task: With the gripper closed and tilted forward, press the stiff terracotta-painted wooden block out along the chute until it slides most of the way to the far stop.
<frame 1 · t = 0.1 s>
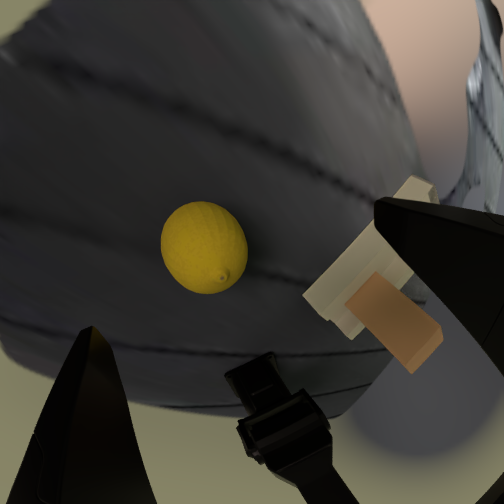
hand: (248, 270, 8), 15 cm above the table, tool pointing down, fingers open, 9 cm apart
jammed block: (388, 317, 29), point 7 cm above the table, slide at 0.0 cm
lemon: (189, 220, 23), on the table
chute: (374, 254, 34), on the table
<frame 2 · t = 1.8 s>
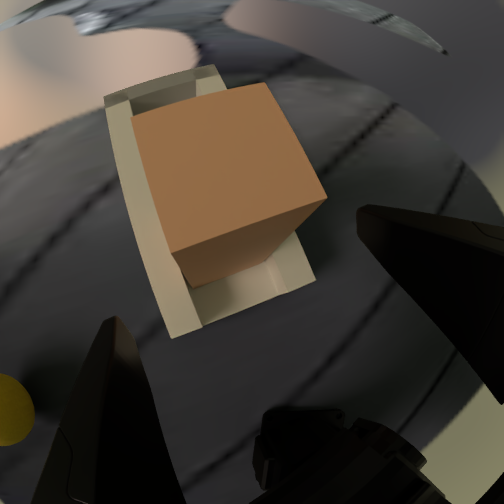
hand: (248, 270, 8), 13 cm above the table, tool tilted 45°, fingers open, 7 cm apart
jammed block: (217, 213, 15), point 7 cm above the table, slide at 0.0 cm
lemon: (26, 398, 17), on the table
chute: (194, 192, 22), on the table
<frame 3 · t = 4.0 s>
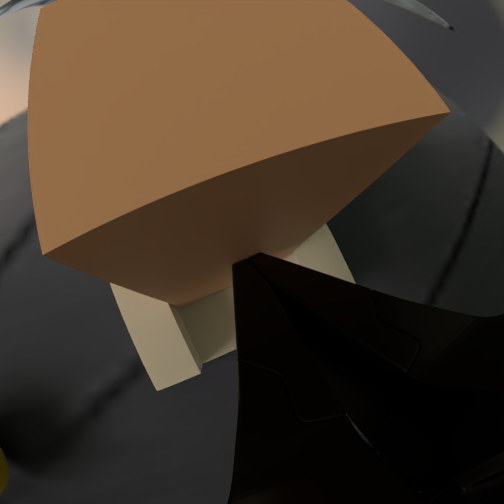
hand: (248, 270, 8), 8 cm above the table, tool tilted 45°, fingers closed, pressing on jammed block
jammed block: (207, 188, 9), point 7 cm above the table, slide at 0.4 cm, touching gripper
chute: (181, 180, 16), on the table
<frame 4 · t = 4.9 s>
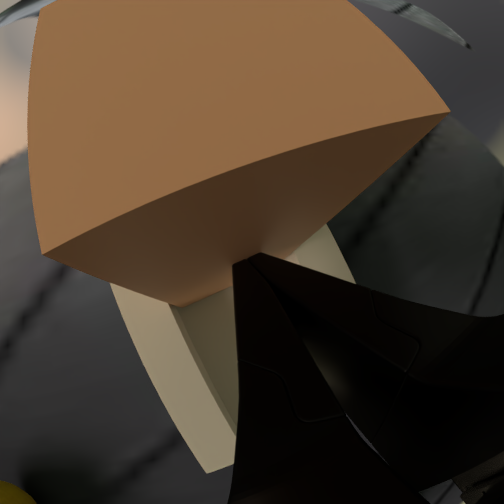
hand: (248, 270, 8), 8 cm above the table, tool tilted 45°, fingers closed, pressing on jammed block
jammed block: (207, 188, 9), point 7 cm above the table, slide at 4.7 cm, touching gripper
lemon: (31, 496, 10), on the table
chute: (211, 249, 16), on the table
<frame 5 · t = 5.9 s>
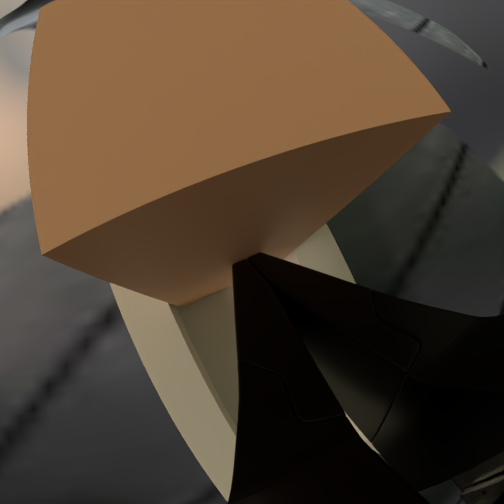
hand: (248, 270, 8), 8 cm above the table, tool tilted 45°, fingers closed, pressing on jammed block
jammed block: (207, 188, 9), point 7 cm above the table, slide at 9.0 cm, touching gripper
chute: (245, 323, 15), on the table
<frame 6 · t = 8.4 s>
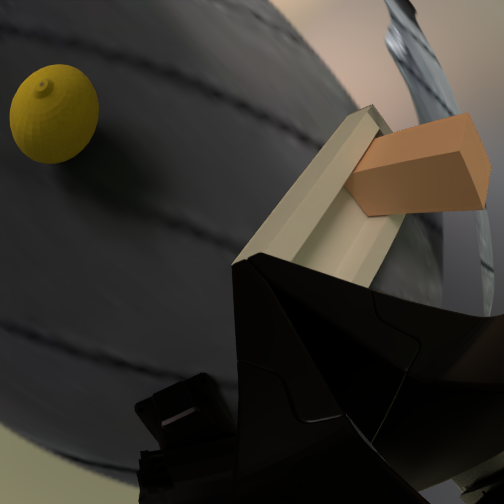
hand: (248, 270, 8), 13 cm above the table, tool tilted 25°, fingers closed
jammed block: (414, 169, 20), point 7 cm above the table, slide at 9.1 cm
lemon: (65, 138, 16), on the table
chute: (333, 214, 26), on the table
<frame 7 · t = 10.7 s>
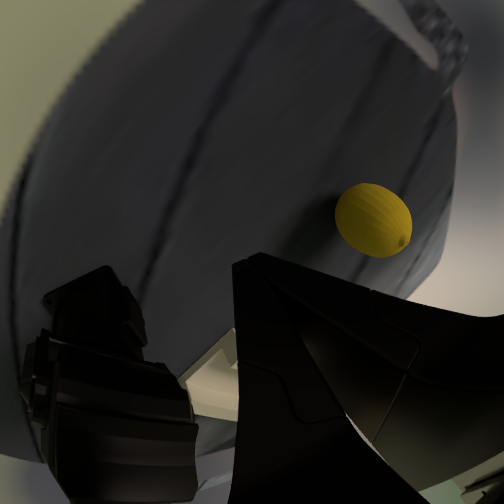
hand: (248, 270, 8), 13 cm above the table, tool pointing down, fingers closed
lemon: (340, 200, 26), on the table
chute: (256, 378, 34), on the table
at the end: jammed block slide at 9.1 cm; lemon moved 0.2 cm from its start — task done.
